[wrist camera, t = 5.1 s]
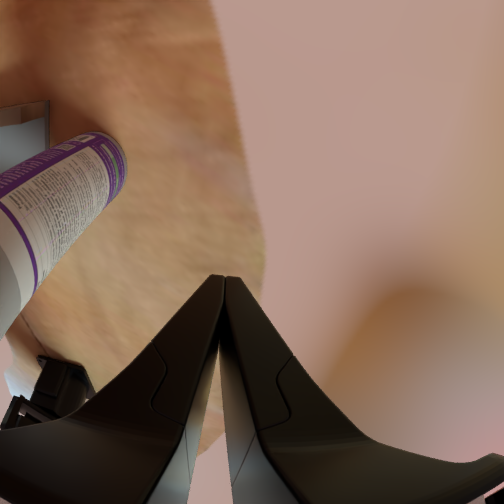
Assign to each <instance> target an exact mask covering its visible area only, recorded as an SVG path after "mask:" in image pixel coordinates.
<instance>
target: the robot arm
mask: <svg viewBox="0 0 504 504" xmlns="http://www.w3.org/2000/svg"><path fill="white" fill-rule="evenodd" d="M218 348H219V361H220V375H221V388H222V400H223V411H224V422H225V433H226V442H227V453H228V462H229V471H230V480H231V487H232V496H233V504H504V487H503V488H501V489H499V490H497V491H496V492H494V493H493V494H491V495H489V496H487V497H486V498H484V495H483V494H485V493H487V492H488V491H490V490H491V489H493V488H495V487H496V486H498V485H499V484H501V483H502V482H504V456H502V455H498V454H495V453H491V454H488V455H486V456H484V457H482V458H480V459H478V460H476V461H472V462H466V463H454V462H448V461H443V460H438V459H434V458H430V457H426V456H423V455H419V454H415V453H411V452H408V451H405V450H401V449H398V448H394V447H391V446H388V445H385V444H382V443H379V442H377V441H375V440H373V439H371V438H370V437H368V436H367V435H365V434H364V433H363V432H362V431H360V430H359V429H358V428H357V427H356V426H355V425H354V424H353V423H352V422H351V421H350V420H349V419H348V418H347V416H346V415H345V414H343V412H342V411H340V409H339V408H338V407H337V406H336V405H335V404H334V403H333V402H332V401H331V400H330V399H329V398H328V397H327V396H326V394H325V393H324V392H323V391H322V390H321V389H320V388H319V386H318V385H317V384H316V383H315V382H314V381H313V380H312V378H311V377H310V376H309V374H308V373H307V372H306V370H305V369H304V368H303V367H302V365H301V364H300V362H299V361H298V360H297V358H296V357H295V356H293V353H292V351H291V350H290V349H289V347H288V346H287V344H286V343H285V341H284V340H283V339H282V337H281V336H280V334H279V333H278V332H277V330H276V329H275V327H274V326H273V324H272V323H271V321H270V320H269V318H268V317H267V316H266V314H265V313H264V311H263V310H262V308H261V307H260V305H259V304H258V303H257V301H256V300H255V298H254V297H253V295H252V294H251V292H250V291H249V289H248V288H247V287H246V285H245V284H244V282H243V281H242V279H241V278H240V277H233V276H227V277H226V278H225V276H223V275H214V274H211V275H210V276H209V277H208V278H207V279H206V280H205V281H204V282H203V283H202V285H201V286H200V287H199V288H198V289H197V290H196V291H195V292H194V293H193V295H192V296H191V297H190V298H189V299H188V300H187V301H186V302H185V303H184V305H183V306H182V307H181V308H180V309H179V310H178V311H177V312H176V313H175V315H174V316H173V317H172V318H171V319H170V320H169V321H168V322H167V324H166V325H165V326H164V327H163V328H162V329H161V330H160V331H159V332H158V334H157V335H156V336H155V337H154V338H153V339H152V340H151V342H150V343H149V344H148V345H147V346H146V347H145V348H144V349H143V350H142V352H141V353H140V354H139V355H138V356H137V357H136V358H135V359H134V360H133V361H132V362H131V363H130V364H129V365H128V366H127V367H126V368H125V369H124V370H123V371H121V372H120V373H119V374H118V375H117V376H116V377H115V378H114V379H112V380H111V381H110V382H109V383H108V384H107V385H105V386H104V387H103V388H102V389H101V390H100V391H98V392H97V393H95V391H94V388H93V386H92V384H91V382H90V380H89V377H88V375H87V373H86V370H85V369H84V368H82V367H79V366H76V365H72V364H68V363H64V362H61V361H57V360H54V359H50V358H47V357H44V356H40V355H38V356H37V358H36V359H37V361H38V363H39V365H40V367H41V368H42V371H41V373H40V375H39V378H38V380H37V382H36V384H35V386H34V391H33V393H32V396H31V398H30V400H27V399H26V398H25V397H24V396H22V395H20V397H17V396H13V399H12V401H11V403H10V406H9V408H8V410H7V412H6V414H5V416H4V418H3V421H2V423H1V425H0V429H1V430H0V504H187V500H188V495H189V490H190V484H191V479H192V474H193V470H194V465H195V460H196V455H197V450H198V445H199V440H200V435H201V431H202V426H203V421H204V416H205V411H206V406H207V402H208V397H209V392H210V387H211V383H212V378H213V373H214V369H215V364H216V359H217V354H218ZM86 399H89V400H88V401H87V402H86V403H85V400H86ZM19 412H20V413H22V414H23V415H25V416H22V415H19Z"/></svg>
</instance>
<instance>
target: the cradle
mask: <svg viewBox="0 0 504 504" xmlns="http://www.w3.org/2000/svg"><path fill="white" fill-rule="evenodd" d="M47 149H49V100H47V101H39V102H32V103H26V104H19V105H14V106H8V107H3V108H0V174H1V173H3V172H5V171H6V170H8V169H10V168H12V167H14V166H16V165H17V164H19V163H21V162H23V161H25V160H27V159H29V158H31V157H33V156H35V155H37V154H39V153H41V152H43V151H45V150H47Z"/></svg>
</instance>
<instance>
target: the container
mask: <svg viewBox="0 0 504 504" xmlns="http://www.w3.org/2000/svg"><path fill="white" fill-rule="evenodd" d="M126 177H127V162H126V158H125V155H124V152H123V150H122V149H121V147H120V145H119V144H118V143H117V142H116V141H115V140H114V139H113V138H112V137H110V136H108V135H107V134H104V133H101V132H87V133H84V134H81V135H78V136H76V137H74V138H71V139H69V140H67V141H64V142H62V143H60V144H58V145H56V146H53V147H51V148H49V149H47V150H45V151H43V152H41V153H39V154H37V155H35V156H33V157H31V158H29V159H27V160H25V161H23V162H21V163H19V164H17V165H16V166H14V167H12V168H10V169H8V170H6V171H5V172H3V173H1V174H0V341H1V339H2V338H3V336H4V335H5V333H6V332H7V330H8V329H9V327H10V326H11V324H12V323H13V321H14V320H15V319H16V317H17V316H18V314H19V313H20V312H21V310H22V309H23V308H24V306H25V305H26V304H27V302H28V301H29V300H30V298H31V297H32V296H33V294H34V293H35V291H36V290H37V289H38V287H39V286H40V285H41V283H42V282H43V281H44V279H45V278H46V277H47V275H48V274H49V273H50V271H51V270H52V269H53V268H54V266H55V265H56V264H57V262H58V261H59V260H60V259H61V257H62V256H63V255H64V254H65V253H66V251H67V250H68V249H69V248H70V247H71V245H72V244H73V243H74V242H75V241H76V239H77V238H78V237H79V236H80V235H81V234H82V232H83V231H84V230H85V229H86V228H87V227H88V226H89V225H90V223H91V222H92V221H93V220H94V219H95V218H96V217H97V216H98V215H99V213H100V212H101V211H102V210H103V209H104V208H105V207H106V206H107V205H108V204H109V203H110V202H111V201H112V200H113V199H114V198H115V197H116V195H117V194H118V193H119V192H120V191H121V189H122V188H123V186H124V184H125V181H126Z"/></svg>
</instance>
